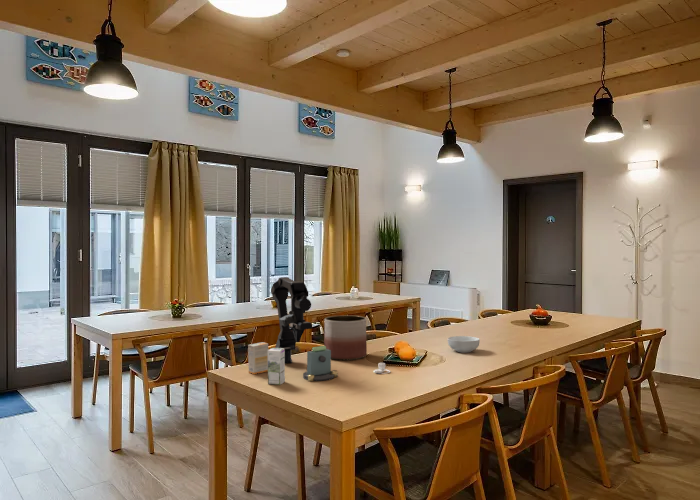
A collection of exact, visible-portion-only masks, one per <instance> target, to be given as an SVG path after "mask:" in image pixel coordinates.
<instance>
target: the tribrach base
mask: <svg viewBox="0 0 700 500" xmlns="http://www.w3.org/2000/svg"><path fill="white" fill-rule="evenodd" d="M338 372H339V371H338V370H335V369H334V370H331V373H326V374H320V375H313V374H309V375H308V374H307V370H306V371H304V372H303V374H302V378H303V379H304V380H306V381H308V382H310V383H311V382H325V381H330V380H331V381H332V380H333V379H335V378H338V377H339V376H338Z"/></svg>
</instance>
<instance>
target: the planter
mask: <svg viewBox="0 0 700 500" xmlns="http://www.w3.org/2000/svg"><path fill="white" fill-rule="evenodd" d="M367 343H368V341H367V318H366V317H365V316H361V315H354V314H353V315H348V314H346V315H340V314H339V315H331V316H330V315H329V316H327V317H325V318H324V345H323V346H326V349H329V350H331V360H335V361H354V360H360V359H362V358H364V357H365V356H366V355H367V353H368V351H367V349H368V348H367V347H368V346H367Z"/></svg>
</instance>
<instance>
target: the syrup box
mask: <svg viewBox="0 0 700 500" xmlns="http://www.w3.org/2000/svg"><path fill="white" fill-rule="evenodd" d="M285 364H286V363H285V349H284V348H281V347H280V348H276V347H271V348H270V349H269V348H268V371H267V384H268V385H274V386H276V385H277V386H280V385H282V384H284V383H285V382H286V377H285V374H286V373H285V369H286V368H285V367H286V365H285Z"/></svg>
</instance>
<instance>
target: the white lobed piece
mask: <svg viewBox="0 0 700 500" xmlns="http://www.w3.org/2000/svg"><path fill="white" fill-rule="evenodd" d="M377 365H378V367H377V368H376V369H373V373H375V374H379V375H380V374H381V375H385V374H386V375H387V374H390V373H391V370H389V369H387V368H386V363H385V362H378V364H377ZM385 371H386V372H385Z"/></svg>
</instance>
